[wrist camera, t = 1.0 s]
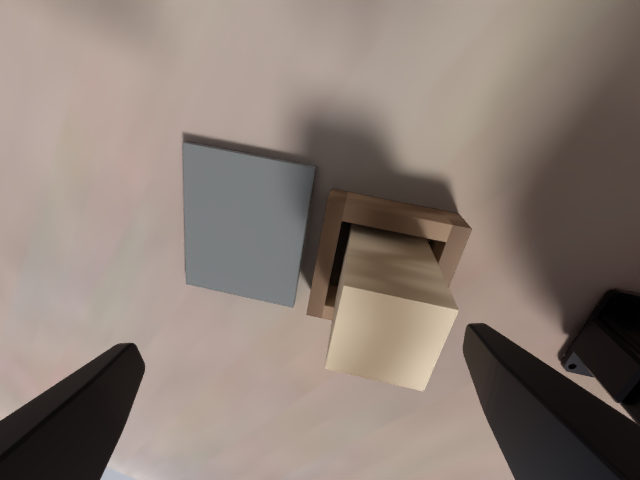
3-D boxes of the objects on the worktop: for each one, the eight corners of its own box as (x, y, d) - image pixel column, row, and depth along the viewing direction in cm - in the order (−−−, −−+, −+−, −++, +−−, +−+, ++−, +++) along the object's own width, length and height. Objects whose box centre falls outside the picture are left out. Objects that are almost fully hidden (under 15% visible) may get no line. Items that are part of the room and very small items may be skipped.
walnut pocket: (458, 213, 18) (471, 229, 16) (420, 316, 22) (426, 341, 19) (331, 188, 19) (326, 200, 16) (312, 293, 22) (306, 314, 20)
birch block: (423, 232, 19) (458, 310, 12) (404, 292, 21) (423, 391, 14) (352, 218, 19) (343, 285, 12) (339, 278, 21) (324, 368, 14)
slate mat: (316, 166, 18) (314, 168, 18) (294, 302, 22) (293, 307, 22) (187, 141, 19) (182, 142, 18) (190, 279, 23) (185, 283, 22)
